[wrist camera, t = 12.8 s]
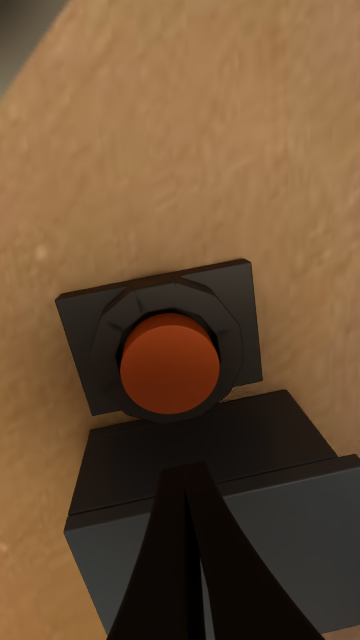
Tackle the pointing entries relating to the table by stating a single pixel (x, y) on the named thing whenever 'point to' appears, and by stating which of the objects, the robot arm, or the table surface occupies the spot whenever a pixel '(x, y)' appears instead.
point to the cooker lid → (263, 533)
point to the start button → (169, 364)
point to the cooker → (196, 449)
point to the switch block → (157, 298)
